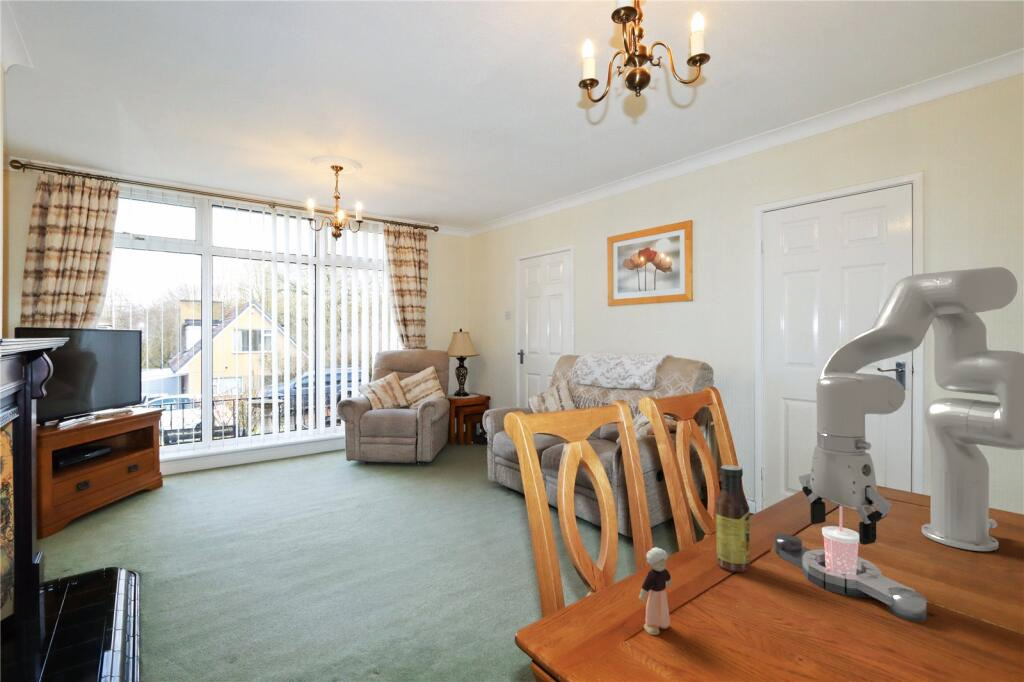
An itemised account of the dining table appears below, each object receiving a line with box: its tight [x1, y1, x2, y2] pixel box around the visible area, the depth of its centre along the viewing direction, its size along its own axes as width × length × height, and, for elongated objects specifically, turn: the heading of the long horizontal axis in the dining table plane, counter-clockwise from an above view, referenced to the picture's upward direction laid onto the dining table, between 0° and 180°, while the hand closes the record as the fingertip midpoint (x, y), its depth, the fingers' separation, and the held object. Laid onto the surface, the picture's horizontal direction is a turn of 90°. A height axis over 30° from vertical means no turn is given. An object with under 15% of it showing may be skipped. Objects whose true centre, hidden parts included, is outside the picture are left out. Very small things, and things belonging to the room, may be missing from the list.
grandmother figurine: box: [638, 546, 674, 636], centre depth 77 cm, size 8×4×13 cm, turn 137°
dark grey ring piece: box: [774, 533, 872, 598], centre depth 95 cm, size 12×20×3 cm, turn 18°
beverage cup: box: [821, 505, 860, 575], centre depth 91 cm, size 6×6×14 cm
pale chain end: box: [802, 548, 927, 623], centre depth 87 cm, size 12×20×3 cm, turn 18°
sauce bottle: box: [715, 464, 751, 573], centre depth 97 cm, size 7×6×20 cm
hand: (841, 532), depth 91 cm, fingers open, 9 cm apart
